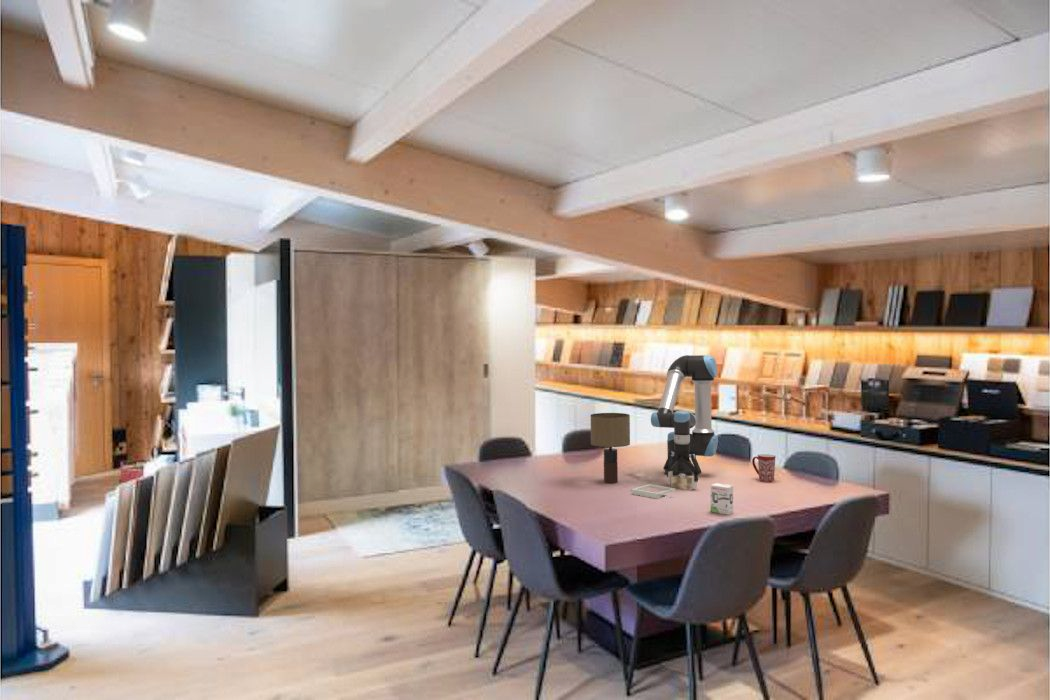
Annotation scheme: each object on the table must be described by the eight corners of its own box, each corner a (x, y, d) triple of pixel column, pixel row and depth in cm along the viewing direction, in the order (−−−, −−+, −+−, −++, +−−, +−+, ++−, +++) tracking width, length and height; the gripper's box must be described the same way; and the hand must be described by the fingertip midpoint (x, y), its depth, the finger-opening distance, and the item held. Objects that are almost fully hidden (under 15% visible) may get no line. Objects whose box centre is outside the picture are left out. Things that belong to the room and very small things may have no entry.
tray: (631, 494, 344) (631, 489, 344) (649, 488, 354) (649, 484, 354) (657, 498, 333) (657, 493, 333) (675, 493, 344) (675, 488, 344)
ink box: (710, 511, 308) (709, 484, 308) (715, 509, 312) (715, 482, 311) (728, 515, 302) (728, 487, 302) (733, 512, 306) (733, 485, 306)
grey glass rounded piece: (672, 490, 351) (672, 473, 351) (680, 487, 356) (680, 471, 356) (684, 492, 346) (684, 475, 346) (692, 489, 351) (692, 473, 351)
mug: (779, 481, 368) (779, 454, 368) (769, 483, 363) (768, 457, 363) (758, 477, 379) (758, 451, 378) (748, 479, 373) (747, 453, 373)
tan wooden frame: (670, 487, 351) (670, 477, 351) (681, 484, 357) (681, 474, 357) (685, 489, 345) (685, 479, 345) (695, 486, 352) (695, 476, 352)
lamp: (593, 477, 384) (592, 412, 383) (631, 478, 380) (630, 413, 379) (589, 485, 364) (588, 417, 363) (629, 486, 360) (628, 417, 359)
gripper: (656, 441, 356) (656, 484, 357) (700, 446, 339) (700, 491, 339) (664, 439, 362) (665, 481, 362) (708, 444, 344) (709, 488, 344)
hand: (682, 486), depth 351 cm, fingers open, 13 cm apart
